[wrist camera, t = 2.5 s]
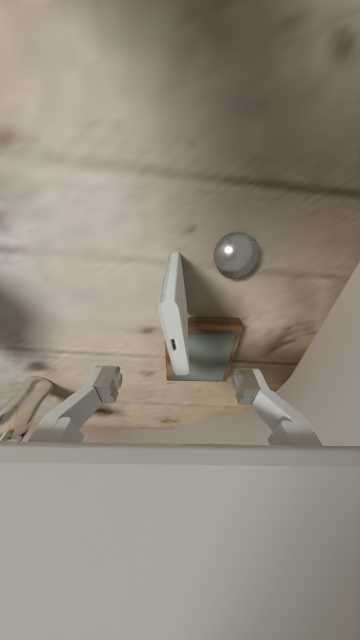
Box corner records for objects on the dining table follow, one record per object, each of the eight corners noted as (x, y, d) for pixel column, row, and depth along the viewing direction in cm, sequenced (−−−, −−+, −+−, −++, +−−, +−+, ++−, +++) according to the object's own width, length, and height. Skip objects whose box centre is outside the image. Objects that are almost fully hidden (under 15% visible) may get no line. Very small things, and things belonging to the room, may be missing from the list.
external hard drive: (176, 307, 26) (174, 376, 16) (167, 253, 21) (155, 302, 11) (187, 306, 25) (191, 375, 15) (180, 251, 21) (179, 300, 11)
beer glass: (27, 370, 35) (-53, 459, 23) (60, 383, 38) (4, 468, 26) (20, 384, 38) (-53, 469, 26) (51, 395, 41) (-2, 476, 29)
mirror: (165, 316, 27) (164, 328, 24) (238, 318, 27) (244, 329, 24) (167, 370, 35) (166, 382, 33) (223, 370, 35) (226, 383, 33)
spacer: (216, 231, 19) (220, 234, 18) (258, 232, 20) (265, 235, 18) (211, 272, 22) (213, 277, 21) (247, 273, 23) (252, 278, 21)
